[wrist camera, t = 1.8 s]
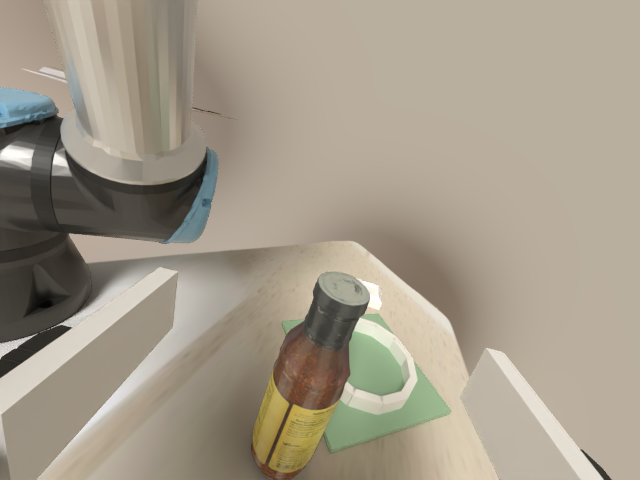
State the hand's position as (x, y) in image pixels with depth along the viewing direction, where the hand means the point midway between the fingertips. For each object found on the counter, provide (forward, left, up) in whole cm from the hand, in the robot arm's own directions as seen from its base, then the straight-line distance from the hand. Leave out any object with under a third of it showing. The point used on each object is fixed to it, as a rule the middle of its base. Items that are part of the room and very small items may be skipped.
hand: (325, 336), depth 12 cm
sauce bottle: (-6, +5, -23) cm, 24 cm away
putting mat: (-13, +19, -23) cm, 32 cm away
